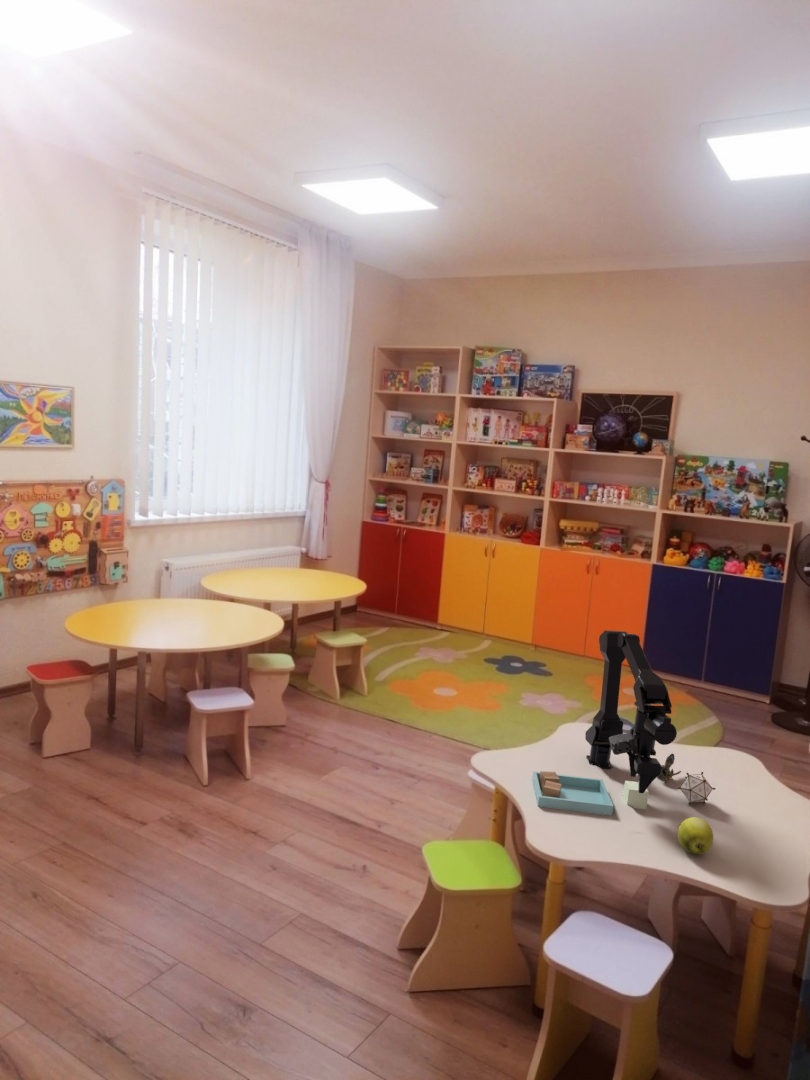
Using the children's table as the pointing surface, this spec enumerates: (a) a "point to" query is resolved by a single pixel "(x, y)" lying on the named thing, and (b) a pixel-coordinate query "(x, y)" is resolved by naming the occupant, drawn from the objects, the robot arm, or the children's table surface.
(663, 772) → the eagle figurine
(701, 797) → the game die
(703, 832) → the apple
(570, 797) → the tray
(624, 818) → the children's table surface
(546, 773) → the walnut block
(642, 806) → the sage block
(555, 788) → the walnut block
